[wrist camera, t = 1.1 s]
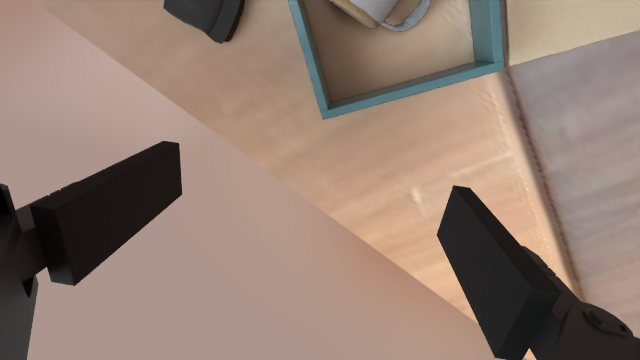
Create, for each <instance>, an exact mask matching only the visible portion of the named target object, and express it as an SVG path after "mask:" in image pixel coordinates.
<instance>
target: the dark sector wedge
mask: <svg viewBox="0 0 640 360" xmlns="http://www.w3.org/2000/svg"><path fill="white" fill-rule="evenodd" d="M244 3H245V0H165V1H164V9H166V10H167V11H168V12H169V13H170V14H172V15H173V16H175V17H176V18H178V19H180V20H181V21H183V22H185V23H187V24H189V25H191V26H193V27H195V28H198V29H200V30H202V31H203V32H205V33H206V34H207V35H208V36H209V37H210V38H211V39H212V40H213V41H215V42H218V43H220V44H222V43H223V42H229V41H230V40H231V38H232V36H233V33H234V32H235V30H236V27H237V24H238V22H239V20H240V16H241V14H242V11H243V8H244Z"/></svg>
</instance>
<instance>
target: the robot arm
mask: <svg viewBox="0 0 640 360" xmlns="http://www.w3.org/2000/svg"><path fill="white" fill-rule="evenodd" d="M181 195H182V184H181V168H180V151H179V143H174V142H167V141H162V142H160V143H158V144H156V145H154V146H152V147H150V148H148V149H145V150H143V151H141V152H139V153H137V154H135V155H133V156H131V157H129V158H127V159H125V160H122V161H121V162H118V163H116V164H114V165H112V166H110V167H108V168H106V169H104V170H102V171H100V172H98V173H96V174H93V175H91V176H89V177H87V178H85V179H83V180H81V181H78V182H75V183H72V184H70V185H68V186H66V187H64V188H61V190H57V191H55V192H53V193H51V194H50V195H47V196H45V197H43V198H41V199H38V200H36V201H34V202H32V203H30V204H28V205H26V206H24V207H21V208H20V209H17V210H15V208H14V205H13V202H12V199H11V195H10V192H9V189H8V186H6V185H4V184H0V360H27V354H28V348H29V341H30V335H31V328H32V322H33V315H34V309H35V303H36V296H37V290H38V281H37V278H36V274H37V273H39V272H40V271H41V270H43V269H44V268H46V267H47V268H48V272H49V275H50V279H51V282H55V283H62V284H67V285H73V286H75V285H76V284H77V283H79V282H80V281H81V280H82V279H83V278H84V277H86V276H87V275H88V274H89V273H90V272H92V271H93V270H94V269H95V268H96V267H98V266H99V265H100V264H101V263H102V262H103V261H105V260H106V259H107V258H108V257H109V256H110V255H112V254H113V253H114V252H115V251H116V250H117V249H118V248H120V247H121V246H122V245H123V244H124V243H126V242H127V241H128V240H129V239H130V238H131V237H133V236H134V235H135V234H136V233H137V232H139V231H140V230H141V229H142V228H143V227H144V226H146V225H147V224H148V223H149V222H150V221H151V220H153V219H154V218H155V217H156V216H157V215H159V214H160V213H161V212H162V211H163V210H164V209H166V208H167V207H168V206H169V205H170V204H171V203H172V202H174V201H175V200H176V199H177V198H178V197H180V196H181ZM437 237H438V239H439V241H440V243H441V245H442V247H443V249H444V251H445V253H446V256H447V258H448V260H449V262H450V264H451V266H452V268H453V270H454V272H455V274H456V277H457V279H458V281H459V283H460V285H461V287H462V289H463V291H464V293H465V296H466V298H467V300H468V302H469V304H470V306H471V308H472V310H473V312H474V314H475V317H476V319H477V321H478V323H479V325H480V327H481V329H482V331H483V333H484V335H485V337H486V340H487V342H488V344H489V346H490V348H491V350H492V352H493V354H494V356H495V358H500V359H506V360H522V359H523V357H524V356H525V354H526V352H527V351H528V349H529V348H530V349H531V351H532V353H533V354H534V356H535V358H536V359H537V360H640V339H639V338H636V337H634V336H633V333H632V331H631V330H630V329H629V328H628V327H627V326H626V324H625V323H623V322H622V321H621V320H619V319H618V318H617V317H615V316H614V315H612V314H611V313H609V312H607V311H605V310H604V309H602V308H599V307H597V306H594V305H592V304H588V303H584V302H581V301H580V300H579V299H578V298H577V297H576V296H575V295H574V294H573V293H572V291H571V290H570V289H569V288H568V287H567V286H566V285H565V284H564V283H563V282H562V281H561V280H560V279H559V277H557V276H556V274H555V273H554V272H553V271H552V270H551V269H550V268H548V266H547V264H546V263H545V262H544V261H543V260H542V259H541V258H540V257H539V256H538V255H537V254H535V253H534V252H532V251H531V250H529V249H528V248H527V247H525V246H521V245H520V244H519V243H518V242H517V241H516V240H515V238H514V237H513V236H512V235H511V234H510V233H509V232H508V230H507V229H506V228H505V227H504V226H503V225H502V224H501V223H500V221H499V220H498V219H497V218H496V217H495V216H494V215H493V214H492V212H491V211H490V210H489V209H488V208H487V207H486V206H485V204H484V203H483V202H482V201H481V200H480V199H479V198H478V197H477V195H476V194H475V193H474V192H473V191H472V190H471V189H470V188H467V187H461V186H454V185H453V188H452V191H451V194H450V197H449V200H448V203H447V206H446V209H445V212H444V215H443V218H442V221H441V224H440V227H439V230H438V233H437Z"/></svg>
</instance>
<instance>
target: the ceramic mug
mask: <svg viewBox="0 0 640 360" xmlns="http://www.w3.org/2000/svg"><path fill="white" fill-rule="evenodd" d="M329 1H330V2H332V3H333V4H334V5H336V6H337V7H339V8H340V9H341V10H343V11H344V12H345V13H347V14H348V15H350V16H351V17H353V18H354V19H356V20H357V21H359V22H360V23H362V24H363V25H365V26H367V27H368V28H371V29H373V28H376V27H378V26H379V25H380V24H381V25H382V26H384V27H386V28H388V29H390V30H394V31H404V30H407V29H410V28H412V27H413V26H414V25H416V24H417V23H418V22H419V21H420V20H421V18H422V17H423V16H424V14H425V13H426V11H427V9H428V7H429V5H430V1H431V0H420V3H419V5H418V6H417V7H416V9H415V10H414V11H413V12H412V14H411V15H410V16H409V17H408V18H406V19H405V21H404V23H402V24H400V25H391V24H388V23H387V22H386V21H385V19H386V17H387V16H388V15H389V14H390V12H391V11H392V9H393V7H394V6H395V4H396V3H397V1H398V0H329Z"/></svg>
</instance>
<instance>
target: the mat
mask: <svg viewBox="0 0 640 360" xmlns="http://www.w3.org/2000/svg"><path fill="white" fill-rule="evenodd" d="M505 11H506V27H507V43H508V59H509V66H512V65H516V64H519V63H523V62H527V61H530V60H534V59H537V58H541V57H544V56H548V55H552V54H555V53H559V52H562V51H566V50H570V49H573V48H577V47H580V46H584V45H588V44H591V43H595V42H598V41H602V40H606V39H609V38H613V37H616V36H620V35H623V34H627V33H631V32H634V31H638V30H640V0H505Z"/></svg>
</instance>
